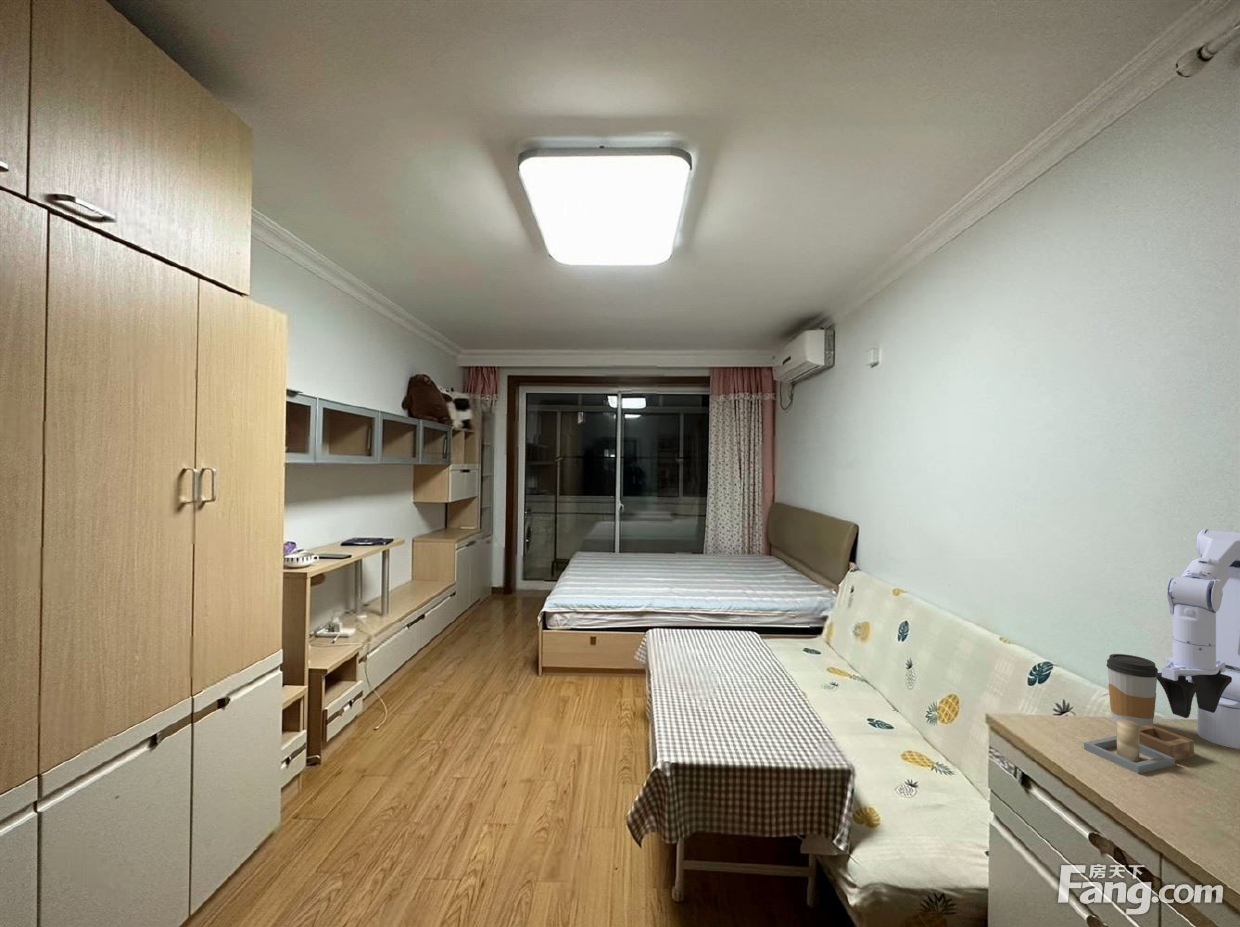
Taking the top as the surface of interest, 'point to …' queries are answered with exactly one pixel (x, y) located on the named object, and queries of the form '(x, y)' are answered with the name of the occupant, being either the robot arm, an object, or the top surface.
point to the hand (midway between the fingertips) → (1193, 713)
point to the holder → (1166, 742)
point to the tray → (1139, 767)
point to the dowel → (1128, 740)
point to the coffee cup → (1132, 688)
